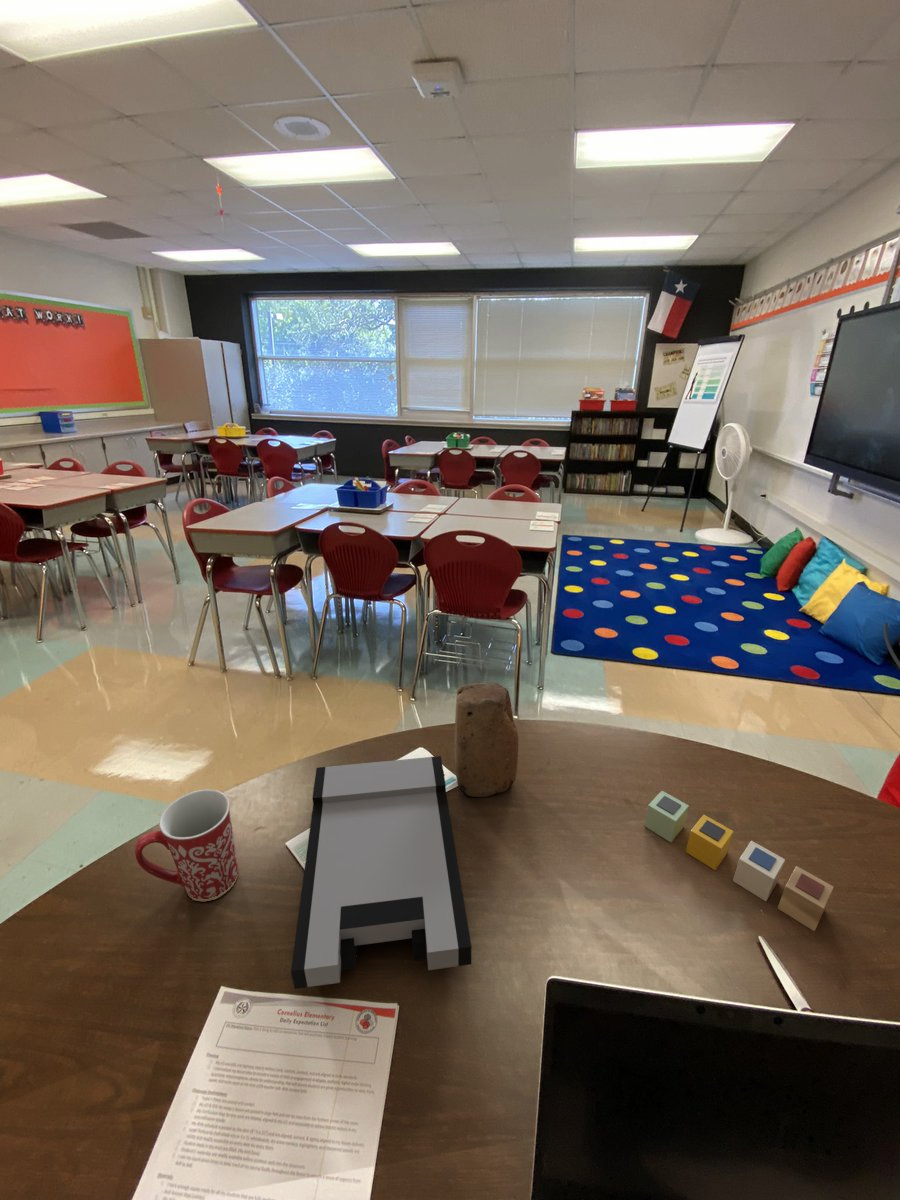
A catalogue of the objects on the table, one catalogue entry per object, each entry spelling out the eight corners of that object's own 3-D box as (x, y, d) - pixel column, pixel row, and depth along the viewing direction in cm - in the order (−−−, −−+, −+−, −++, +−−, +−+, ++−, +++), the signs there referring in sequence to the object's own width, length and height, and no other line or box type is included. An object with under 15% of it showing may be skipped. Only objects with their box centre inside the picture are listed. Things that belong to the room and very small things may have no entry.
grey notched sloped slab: (298, 1007, 64) (289, 964, 61) (321, 804, 93) (316, 767, 90) (470, 983, 67) (471, 939, 63) (441, 792, 95) (440, 755, 92)
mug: (243, 846, 85) (228, 781, 80) (248, 894, 78) (231, 826, 72) (154, 874, 81) (131, 807, 75) (150, 928, 73) (124, 858, 68)
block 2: (657, 811, 91) (662, 789, 89) (684, 826, 88) (689, 804, 86) (644, 826, 88) (648, 804, 86) (670, 842, 85) (675, 820, 83)
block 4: (788, 888, 78) (796, 864, 76) (824, 909, 75) (834, 886, 73) (777, 908, 75) (785, 885, 73) (814, 931, 72) (824, 908, 70)
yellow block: (698, 835, 87) (703, 813, 85) (727, 852, 84) (734, 830, 82) (685, 852, 84) (690, 829, 82) (715, 870, 81) (721, 848, 79)
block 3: (744, 862, 82) (751, 839, 80) (777, 881, 79) (785, 858, 77) (732, 881, 79) (739, 858, 77) (766, 901, 76) (774, 878, 74)
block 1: (456, 800, 94) (456, 705, 85) (453, 770, 101) (453, 679, 92) (518, 797, 94) (524, 702, 86) (511, 767, 101) (516, 676, 93)
